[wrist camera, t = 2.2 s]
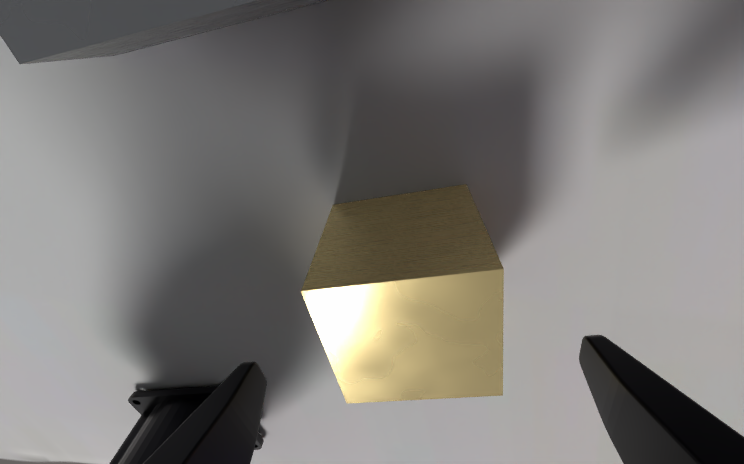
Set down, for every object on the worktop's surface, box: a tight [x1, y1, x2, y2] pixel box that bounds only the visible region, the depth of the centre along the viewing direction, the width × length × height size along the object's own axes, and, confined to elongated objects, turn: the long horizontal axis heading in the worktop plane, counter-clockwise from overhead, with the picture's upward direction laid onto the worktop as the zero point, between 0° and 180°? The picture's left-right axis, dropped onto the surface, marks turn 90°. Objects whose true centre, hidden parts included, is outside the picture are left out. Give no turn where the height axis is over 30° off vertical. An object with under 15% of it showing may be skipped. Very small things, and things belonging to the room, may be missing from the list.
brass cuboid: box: [301, 184, 504, 403], centre depth 11 cm, size 5×5×5 cm
